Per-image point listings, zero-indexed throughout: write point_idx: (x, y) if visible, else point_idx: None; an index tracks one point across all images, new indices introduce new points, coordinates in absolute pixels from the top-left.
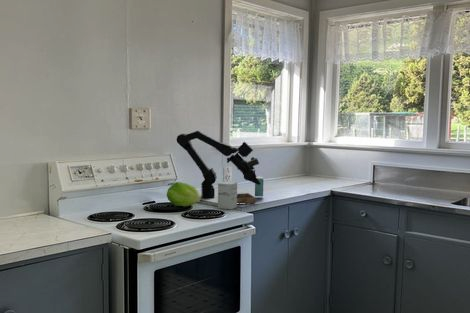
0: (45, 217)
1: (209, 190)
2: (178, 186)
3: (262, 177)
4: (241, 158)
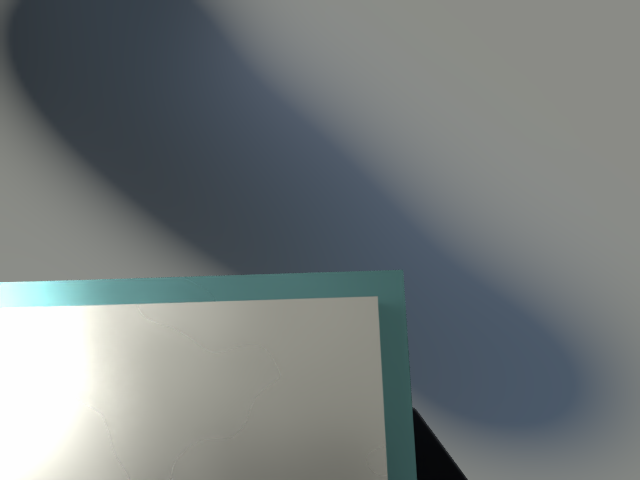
0: None
1: None
2: None
3: (131, 317)
4: None
